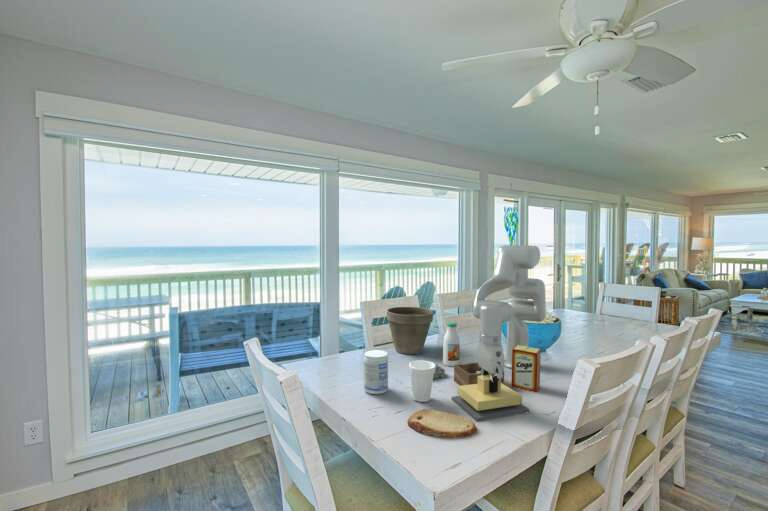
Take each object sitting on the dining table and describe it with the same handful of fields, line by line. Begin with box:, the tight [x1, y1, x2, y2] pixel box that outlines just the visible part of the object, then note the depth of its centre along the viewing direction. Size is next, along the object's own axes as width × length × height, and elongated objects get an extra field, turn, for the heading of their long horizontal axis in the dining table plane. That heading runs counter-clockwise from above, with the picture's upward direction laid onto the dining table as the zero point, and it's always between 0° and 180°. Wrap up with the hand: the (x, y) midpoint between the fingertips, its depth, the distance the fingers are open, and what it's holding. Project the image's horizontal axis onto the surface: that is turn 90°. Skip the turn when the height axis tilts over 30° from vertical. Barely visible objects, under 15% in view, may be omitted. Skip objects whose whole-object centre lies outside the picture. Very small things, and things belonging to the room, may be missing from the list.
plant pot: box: [386, 306, 434, 355], centre depth 195 cm, size 25×25×22 cm
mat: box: [451, 395, 530, 422], centre depth 131 cm, size 21×17×1 cm
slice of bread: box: [407, 408, 478, 439], centre depth 116 cm, size 18×18×4 cm
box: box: [453, 361, 505, 386], centre depth 150 cm, size 16×12×7 cm
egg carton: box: [433, 363, 447, 379], centre depth 159 cm, size 11×8×4 cm
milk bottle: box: [442, 321, 461, 367], centre depth 174 cm, size 8×8×20 cm
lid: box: [457, 374, 523, 411], centre depth 130 cm, size 18×14×8 cm
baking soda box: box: [511, 345, 542, 393], centre depth 147 cm, size 10×6×16 cm
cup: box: [408, 360, 436, 403], centre depth 135 cm, size 10×10×13 cm
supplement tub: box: [363, 349, 389, 395], centre depth 143 cm, size 10×10×15 cm
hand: (489, 388), depth 130 cm, fingers closed on lid, 4 cm apart
